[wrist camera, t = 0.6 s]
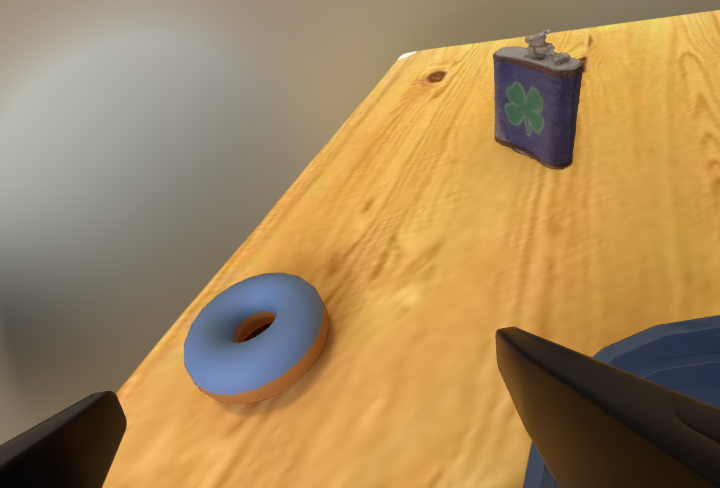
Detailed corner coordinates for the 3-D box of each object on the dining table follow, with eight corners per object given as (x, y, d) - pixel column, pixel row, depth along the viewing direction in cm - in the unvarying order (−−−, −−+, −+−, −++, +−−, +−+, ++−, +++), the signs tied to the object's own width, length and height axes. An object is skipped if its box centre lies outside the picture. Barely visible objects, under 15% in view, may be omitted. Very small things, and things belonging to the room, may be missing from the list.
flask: (489, 139, 41) (486, 31, 34) (511, 128, 41) (513, 19, 34) (556, 173, 34) (571, 47, 27) (582, 160, 35) (603, 33, 28)
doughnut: (256, 287, 33) (231, 250, 30) (357, 307, 29) (340, 266, 26) (179, 393, 27) (139, 360, 24) (293, 439, 23) (260, 406, 20)
